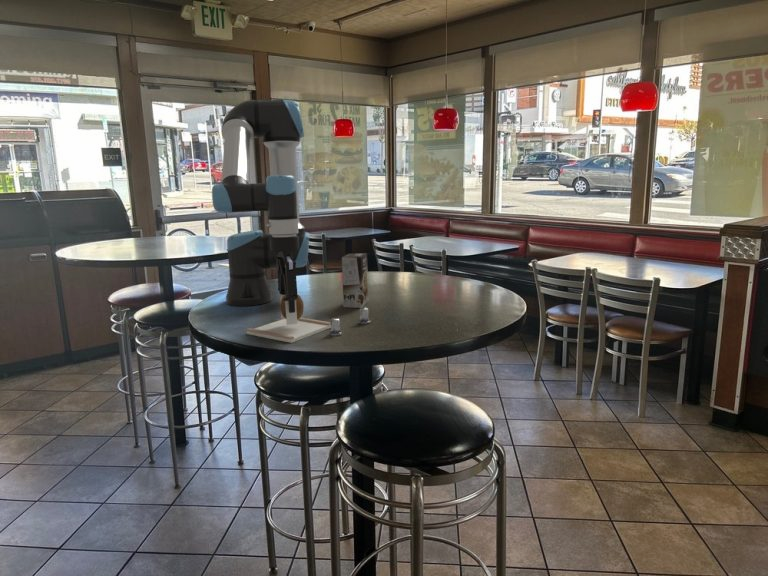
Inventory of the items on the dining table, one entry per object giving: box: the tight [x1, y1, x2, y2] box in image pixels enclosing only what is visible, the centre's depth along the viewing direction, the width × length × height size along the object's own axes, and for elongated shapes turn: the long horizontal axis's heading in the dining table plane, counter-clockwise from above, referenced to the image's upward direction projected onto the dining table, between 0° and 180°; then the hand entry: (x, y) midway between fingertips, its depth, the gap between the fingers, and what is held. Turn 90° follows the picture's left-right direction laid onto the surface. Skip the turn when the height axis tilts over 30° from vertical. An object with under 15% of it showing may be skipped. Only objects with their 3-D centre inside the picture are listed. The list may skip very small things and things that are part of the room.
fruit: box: [280, 294, 305, 319], centre depth 148 cm, size 6×6×8 cm
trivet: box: [246, 316, 331, 344], centre depth 149 cm, size 16×16×1 cm
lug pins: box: [328, 307, 372, 337], centre depth 150 cm, size 4×17×4 cm, turn 146°
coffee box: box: [341, 252, 369, 309], centre depth 176 cm, size 9×6×16 cm
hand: (289, 320), depth 149 cm, fingers closed on fruit, 6 cm apart
